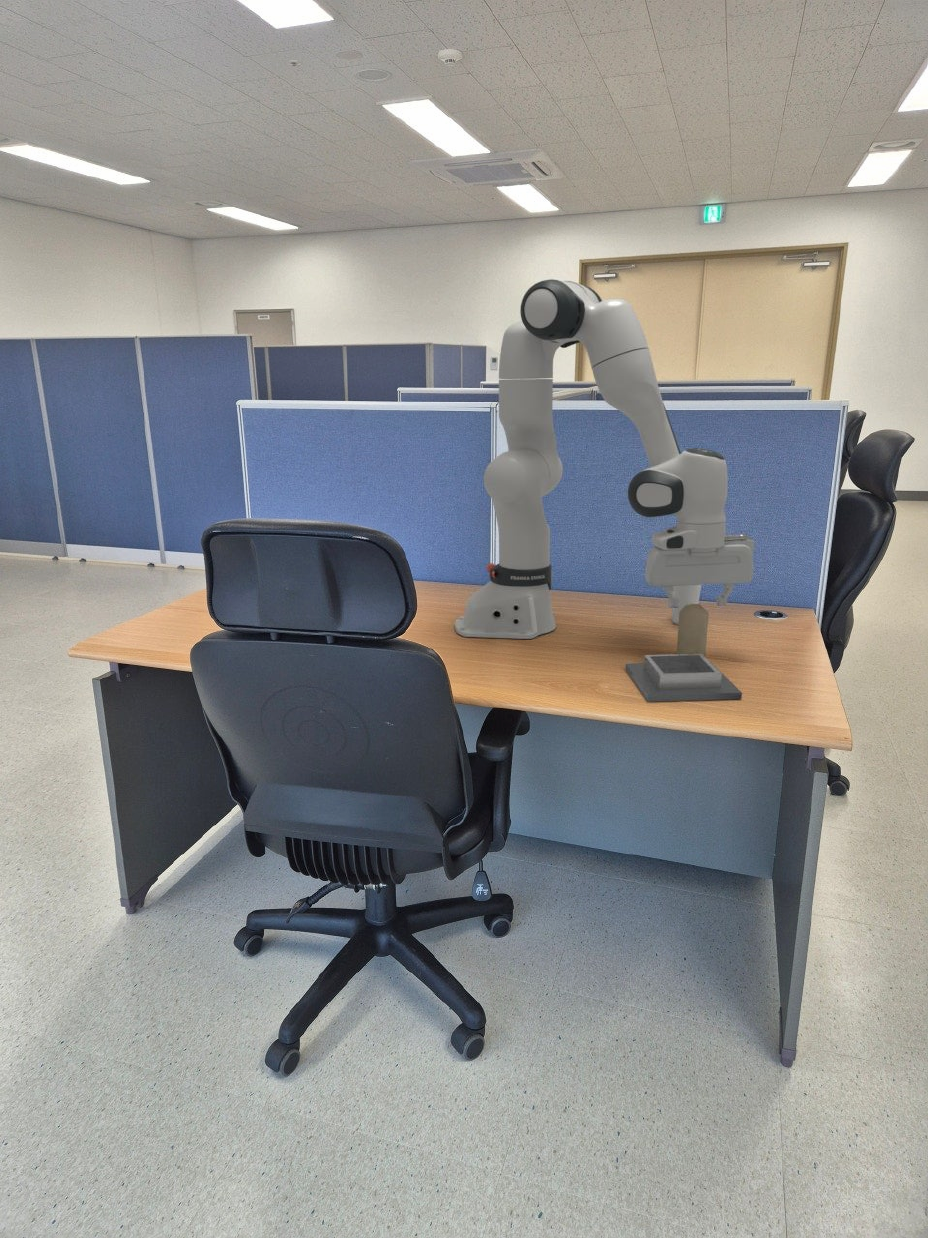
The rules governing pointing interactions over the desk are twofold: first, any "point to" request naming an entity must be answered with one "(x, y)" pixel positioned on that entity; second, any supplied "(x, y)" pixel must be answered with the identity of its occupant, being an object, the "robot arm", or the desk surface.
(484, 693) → the desk surface
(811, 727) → the desk surface
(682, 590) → the drinking glass
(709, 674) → the candle stand
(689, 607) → the candle
